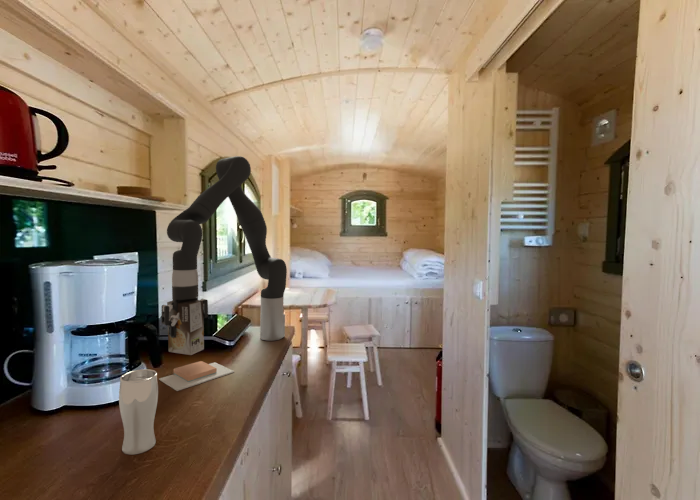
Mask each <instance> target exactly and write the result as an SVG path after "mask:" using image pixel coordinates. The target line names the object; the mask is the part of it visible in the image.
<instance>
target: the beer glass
mask: <svg viewBox="0 0 700 500" xmlns="http://www.w3.org/2000/svg"><path fill="white" fill-rule="evenodd" d="M118 390H119V391H118V393H119V394H118V403H119V405H118V406H119V411H120V417H121V421H122V427H123V433H124V434H123V442H122V447H121V451H122V453H123V454H125V455H129V456H130V455H132V456H133V455H139V454H143V453H145V452H147V451H149V450H150V449H152V448H153V447H154V446H155V445H156V442H157V440H156V436H155V430H154V424H155V416H156V411H157V407H158V400H159V383H158V372H157V371H156V370H154V369H149V368H148V369H146V368H145V369H136V370H132V371H129V372H126V373H124V374H122V375H121V376H120V378H119V389H118Z"/></svg>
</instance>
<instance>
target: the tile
mask: <svg viewBox="0 0 700 500" xmlns="http://www.w3.org/2000/svg"><path fill="white" fill-rule="evenodd" d="M209 364H210V363H207V362H204V361H202V360H200V361H199V360H198V361H196V362H192V363H188V364H185V365H181V366H179V367H175V368H173V374H175V375H177V376H179V377H181V378H182V379H184V380H186V381H188V382H190V381H193V380H196V379H199V378H202V377H205V376H208V375H212V374H215V373H217V368H215V367H213V366H211V365H209Z"/></svg>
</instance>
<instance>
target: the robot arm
mask: <svg viewBox="0 0 700 500" xmlns="http://www.w3.org/2000/svg"><path fill="white" fill-rule="evenodd" d="M251 169H252V168H251V164H250V162H249V161H248V159H247V158H245V157H244V156H241V155H240V156H239V155H238V156H237V155H236V156H230V157H225V158H221V159H219V160H218V161H217V162H216V164H215V171H216V175H217V178H218V181H216V182H215V183H213V184H212V185H211V186H209V187H208V188H206V189H205V190H204V191H203V192H201V193H200V194H199V195H198V196H197V197H196V199H194V201H193V202H192V203H191V204H190V205H189V207H187V208H186V209H184V210H183V211H182V212H181V213H179V214H178V215H176V216H175V217H174V218H173V219H172V220H170V222H169V223H168V226H167V228H166V235H167V237H168V239H169V240H171V241H172V242H176V243H181V247H180V249H179V250H178V249H177V250H175V251H174V252H173V254H172V272H171V273H172V274H171V295H172V296H171V298H172V299H171V300H173V302H172V304H171V305H167V304H162V305H161V319H160V321H161V324H162V325H165V326H167V333H168V332H169V336H170V337H172V338H176V326H174V325H175V324H176V322H177V321H178V320H179V319H180V316H179V315H180V312H179V313H178V314H177V315H176V316H175V315H172V316H171V318H170V319H169V312H170V311H171V309H173V310H175V311H176V312H177V311H178V303H181V302H186V301H193V300H199V274H198V272H199V271H198V254H199V251H200V248H201V244H202V239H203V230H202V229H203V228H202V224H205V223H207V222H208V221H209V220H210V219H211V218H212V217H213V215H214V214H215V212H216V211H217V210H218V208H219V207H220V206H221V205H222V203H224V202H225V200H226V199H227V198H228V199H229V202H230V203H231V206H232V208H233V210H234V213H235V216H236V218H237V220H238V222H239V225H240V228H241V230H242V233H243V235H244V237H245V239H246V242H247V245H248V247H249V250H250V251H251V256H252V258H253V262H254V265H255V269H256V271H257V274H258V275H259V277H260V278H262V279H263V280H267V287H266V288H265V287H264V288H262V289H261V290H260V317H259V318H260V321H259V322H260V323H259V325H260V327H259V333H260V334H259V338H260V340H263V341H270V342H271V341H272V342H273V341H280V340H281V339H283V338H285V335H286V314H285V313H284V300H285V299H284V295H285V291H286V288H287V287H286V286H287V276H288V275H287V274H288V270H287V269H288V268H287V263H286V262H285V260H284V259H281V258H276V257H271V255H270V253H269V251H268V248H267V243H266V242H267V241H266V239H267V233H268V229H267V228H268V227H267V223H266V220H265V218H264V216H263V213H262V211H261V209H260V208H259V207H258V205H256V203H254V202H253V201H252V199H250V198H249V197H248V196H247V194H246V193H245V192H244V189H243V188H242V186H241V185H242V184H243V183H245V182H246V181H247V180H248V179H249V177H250V176H251ZM200 300H203V320H204V319H205V318H209V304H208V303H209V300H208V299H205V298H201V299H200ZM173 318H174V319H173Z"/></svg>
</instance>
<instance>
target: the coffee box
mask: <svg viewBox="0 0 700 500" xmlns="http://www.w3.org/2000/svg"><path fill="white" fill-rule="evenodd" d="M172 302H173V299H171V300H170V301H166V305H171V304H172ZM179 312H180V315H179V316H180V319H179V320H178V321H177V322H176V324H175V325H174V326H176V338H172V337H170V336H169V332H168V331H167V339H168V340H167V343H168V352H169V353H175V354H182V355H188V356H192V355H194V354H196V353H199V352H201V351H204V350H205V339H204V338H205V336H204V335H205V333H204V331H205V330H204V329H205V327H204V319H203V300H201V299H198V300H193V301H186V302H181V303H178V311H177V312H176V311H175V310H173V309H171V311H170V312H169V319H170V318H171V316H172V315H175V316H176V315H177V314H178V313H179ZM173 319H174V318H173Z"/></svg>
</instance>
